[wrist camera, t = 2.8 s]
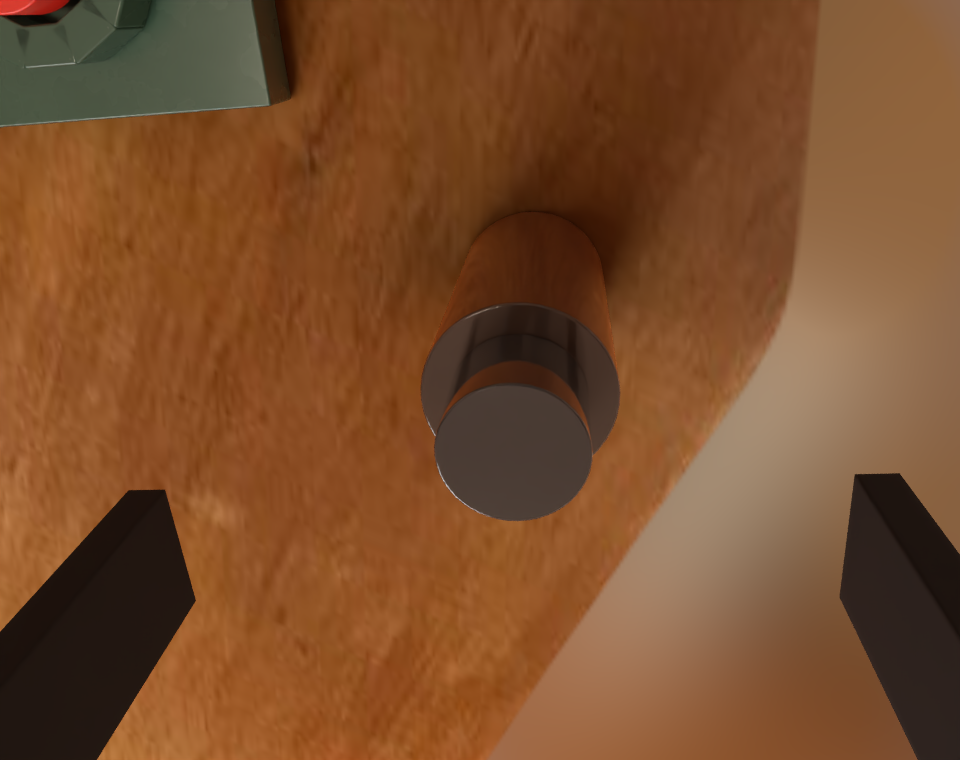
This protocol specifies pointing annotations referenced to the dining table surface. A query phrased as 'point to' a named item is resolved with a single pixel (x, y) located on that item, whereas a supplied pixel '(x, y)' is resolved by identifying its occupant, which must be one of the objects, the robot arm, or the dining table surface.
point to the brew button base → (139, 60)
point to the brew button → (30, 6)
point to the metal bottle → (522, 370)
